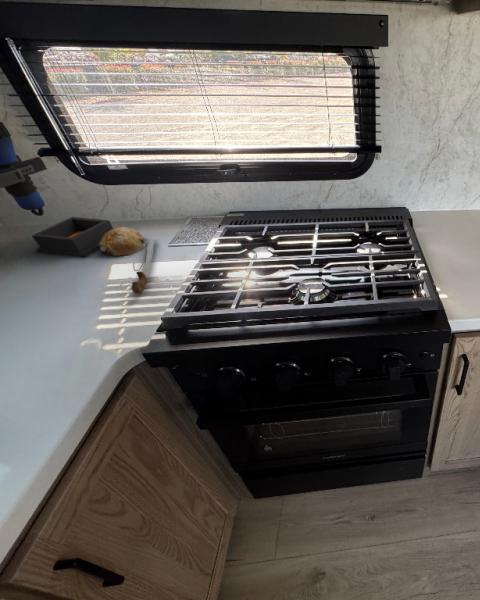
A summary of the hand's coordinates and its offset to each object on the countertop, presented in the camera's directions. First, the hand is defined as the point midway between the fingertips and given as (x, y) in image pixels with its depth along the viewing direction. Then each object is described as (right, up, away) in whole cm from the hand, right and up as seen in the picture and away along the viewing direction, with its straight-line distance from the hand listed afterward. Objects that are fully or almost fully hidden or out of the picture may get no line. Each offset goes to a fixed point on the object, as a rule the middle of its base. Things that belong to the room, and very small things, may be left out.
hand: (31, 162), depth 80 cm
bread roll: (+6, -18, +20) cm, 27 cm away
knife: (+18, -24, +12) cm, 33 cm away
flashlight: (-1, -12, +3) cm, 12 cm away
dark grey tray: (-8, -16, +21) cm, 28 cm away
